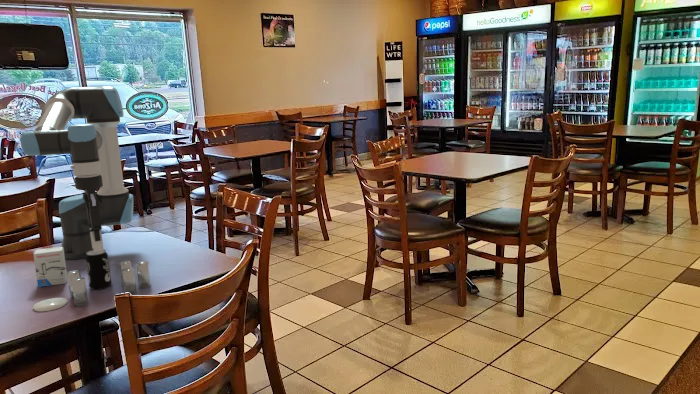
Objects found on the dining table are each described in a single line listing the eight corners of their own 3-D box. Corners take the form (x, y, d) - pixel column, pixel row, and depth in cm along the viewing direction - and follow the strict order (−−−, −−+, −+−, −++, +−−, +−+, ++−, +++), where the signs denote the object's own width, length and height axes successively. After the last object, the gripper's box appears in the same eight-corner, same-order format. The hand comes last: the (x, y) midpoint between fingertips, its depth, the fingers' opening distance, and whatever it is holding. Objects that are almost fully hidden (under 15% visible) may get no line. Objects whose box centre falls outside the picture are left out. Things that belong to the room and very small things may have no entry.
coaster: (32, 304, 157) (32, 302, 157) (65, 296, 162) (65, 295, 162) (33, 314, 150) (33, 312, 150) (68, 306, 155) (68, 305, 154)
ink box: (37, 287, 170) (32, 253, 168) (39, 282, 175) (34, 249, 172) (66, 283, 174) (61, 250, 171) (68, 278, 178) (63, 246, 176)
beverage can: (102, 290, 166) (97, 255, 164) (85, 289, 168) (80, 254, 165) (115, 283, 172) (111, 249, 170) (98, 282, 174) (94, 248, 171)
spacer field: (70, 295, 163) (66, 271, 161) (146, 279, 175) (144, 257, 173) (73, 308, 153) (70, 282, 152) (154, 290, 165) (151, 266, 164)
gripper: (71, 173, 162) (81, 245, 167) (76, 180, 148) (87, 258, 153) (97, 170, 166) (106, 240, 171) (105, 177, 152) (115, 253, 157)
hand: (97, 248), depth 162 cm, fingers open, 3 cm apart
